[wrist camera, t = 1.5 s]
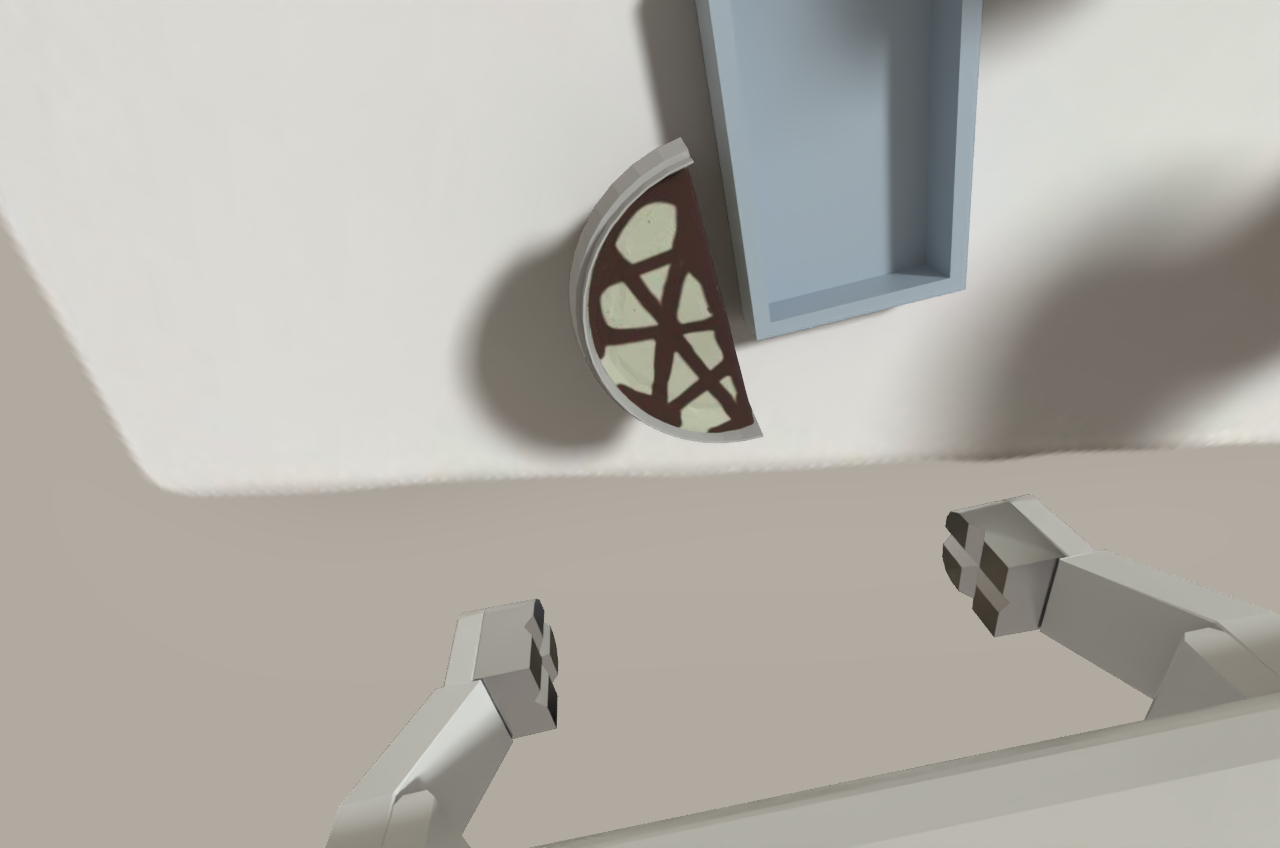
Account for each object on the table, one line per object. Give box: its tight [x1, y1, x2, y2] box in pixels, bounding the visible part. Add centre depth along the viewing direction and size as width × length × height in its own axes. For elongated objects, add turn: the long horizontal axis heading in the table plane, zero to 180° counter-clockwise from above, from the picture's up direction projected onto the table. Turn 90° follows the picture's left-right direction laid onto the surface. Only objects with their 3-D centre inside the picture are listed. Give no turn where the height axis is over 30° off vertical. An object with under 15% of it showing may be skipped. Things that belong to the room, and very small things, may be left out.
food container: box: [569, 137, 763, 443], centre depth 26 cm, size 12×6×10 cm, turn 18°
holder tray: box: [695, 0, 983, 341], centre depth 26 cm, size 11×17×3 cm, turn 13°
